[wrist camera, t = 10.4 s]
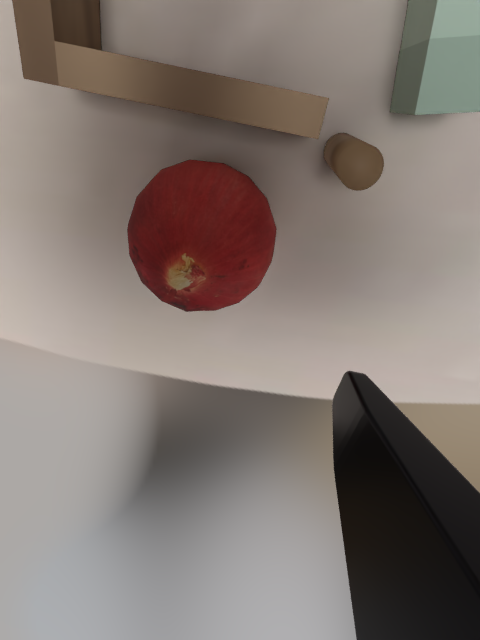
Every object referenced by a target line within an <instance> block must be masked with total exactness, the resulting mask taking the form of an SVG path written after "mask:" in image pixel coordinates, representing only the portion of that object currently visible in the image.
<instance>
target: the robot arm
mask: <svg viewBox="0 0 480 640" xmlns="http://www.w3.org/2000/svg"><path fill="white" fill-rule="evenodd" d="M332 406H333V459H334V473H335V482H336V489H337V496H338V504H339V511H340V519H341V526H342V533H343V541H344V548H345V555H346V563H347V571H348V578H349V586H350V593H351V600H352V608H353V615H354V622H355V629H356V637H357V640H480V493H479V492H478V491H477V490H476V489H475V488H474V487H473V486H472V485H471V484H470V482H469V481H468V480H467V479H466V478H465V477H464V476H463V475H462V474H461V473H460V472H459V471H458V470H457V469H456V468H455V467H454V466H453V465H452V464H451V463H450V462H449V461H448V460H447V459H446V457H445V456H443V454H442V453H441V452H440V451H439V450H438V449H437V448H436V447H435V446H434V445H433V444H432V443H431V442H430V441H429V440H428V439H427V438H426V437H425V436H424V435H423V434H422V433H421V431H419V429H418V428H417V427H416V426H415V425H414V424H413V423H412V422H411V421H410V420H409V419H408V418H407V417H406V416H405V415H404V414H403V413H402V412H401V411H400V410H399V409H398V408H397V407H396V406H395V404H394V403H393V402H392V401H391V400H390V399H389V398H388V397H387V396H386V395H385V394H384V393H383V392H382V391H381V390H380V389H379V388H378V387H377V386H376V385H375V384H374V383H373V382H372V381H371V380H370V379H369V377H368V376H366V375H365V374H363V373H358V372H353V371H348V372H346V373H345V374H344V376H343V378H342V380H341V382H340V384H339V386H338V389H337V391H336V393H335V395H334V398H333V405H332Z"/></svg>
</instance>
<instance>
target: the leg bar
mask: <svg viewBox="0 0 480 640" xmlns="http://www.w3.org/2000/svg"><path fill="white" fill-rule="evenodd" d="M390 112H392V113H402V114H411V115H424V114H444V113H465V112H480V0H408V7H407V13H406V19H405V25H404V31H403V37H402V43H401V49H400V52H399V58H398V65H397V71H396V77H395V83H394V89H393V95H392V102H391V108H390Z"/></svg>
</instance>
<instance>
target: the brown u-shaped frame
mask: <svg viewBox="0 0 480 640" xmlns="http://www.w3.org/2000/svg"><path fill="white" fill-rule="evenodd" d="M12 1H13V8H14V15H15V22H16V29H17V36H18V43H19V49H20V56H21V63H22V70H23V77H24V79H29V80H34V81H39V82H43V83H48V84H53V85H58V86H63V87H68V88H72V89H77V90H82V91H87V92H92V93H97V94H102V95H106V96H111V97H116V98H121V99H126V100H131V101H135V102H140V103H145V104H150V105H155V106H160V107H165V108H169V109H174V110H179V111H184V112H189V113H194V114H198V115H203V116H208V117H213V118H218V119H223V120H228V121H232V122H237V123H242V124H247V125H252V126H257V127H262V128H266V129H271V130H276V131H281V132H286V133H291V134H295V135H300V136H305V137H310V138H315V139H318V138H319V134H320V130H321V126H322V123H323V119H324V115H325V111H326V108H327V104H328V100H329V98H326V97H321V96H316V95H311V94H307V93H302V92H297V91H292V90H287V89H283V88H278V87H273V86H268V85H263V84H259V83H254V82H249V81H244V80H240V79H235V78H230V77H225V76H220V75H216V74H211V73H206V72H201V71H196V70H192V69H187V68H182V67H177V66H172V65H168V64H163V63H158V62H153V61H148V60H144V59H139V58H134V57H129V56H124V55H120V54H115V53H110V52H105V51H101V32H100V8H99V0H12ZM324 158H325V161H326V162H327V164H328V165H329V166H330V168H331V169H332V170H333V171H334V173H335V174H336V175H337V176H338V178H339V179H340V180H341V181H342V183H343V184H344V185H345V186H346V187H348V188H349V189H352V190H364V189H367V188H369V187H371V186H372V185H373V184H375V183H376V182H377V180H378V179H379V178H380V176H381V174H382V171H383V167H384V160H383V156H382V154H381V152H380V151H379V150H378V149H377V148H376V147H374V146H372V145H370V144H368V143H366V142H364V141H362V140H360V139H357V138H355V137H353V136H351V135H349V134H347V133H338V134H336V135H334V136H332V137H331V138H330V139H329V140H328V141H327V143H326V145H325V148H324Z"/></svg>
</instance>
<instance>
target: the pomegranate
mask: <svg viewBox="0 0 480 640" xmlns="http://www.w3.org/2000/svg"><path fill="white" fill-rule="evenodd" d="M276 230H277V229H276V226H275V223H274V219H273V216H272V213H271V210H270V207H269V204H268V201H267V198H266V197H265V196H264V194H263V193H262V192H261V191H260V190H259V188H258V187H257V186H256V185H255V184H254V182H253V181H252V180H251V179H250V178H249V177H248V176H247V175H245V174H243V173H241V172H239V171H237V170H235V169H233V168H232V167H230V166H228V165H226V164H224V163H216V162H207V161H198V160H187V161H184V162H182V163H179V164H176V165H173V166H170V167H167V168H164V169H162V170H161V171H160V172H159V173H158V174H157V175H156V176H155V177H154V178H153V179H152V180H151V181H150V182H149V184H148V185H147V186H146V187H145V188H144V189H143V190H142V192H141V193H140V194H139V195H138V196H137V198H136V201H135V204H134V207H133V211H132V214H131V217H130V220H129V223H128V229H127V231H128V243H129V254H130V257H131V260H132V262H133V264H134V266H135V268H136V271H137V273H138V275H139V277H140V279H141V281H142V283H143V284H144V285H145V286H146V287H147V288H149V289H150V290H151V291H152V292H153V293H154V294H155V295H156V296H157V297H158V298H159V299H160V300H161V301H163V302H165V303H168V304H170V305H172V306H175V307H177V308H179V309H182V310H184V311H187V312H188V311H213V310H218V309H221V308H224V307H227V306H230V305H233V304H236V303H239V302H240V301H241V300H242V299H244V298H245V297H246V296H247V295H249V294H250V293H251V292H252V291H254V290H255V289H256V288H257V287H258V286H259V284H260V283H261V281H262V279H263V277H264V275H265V273H266V271H267V269H268V267H269V265H270V263H271V261H272V257H273V252H274V245H275V237H276Z"/></svg>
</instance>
